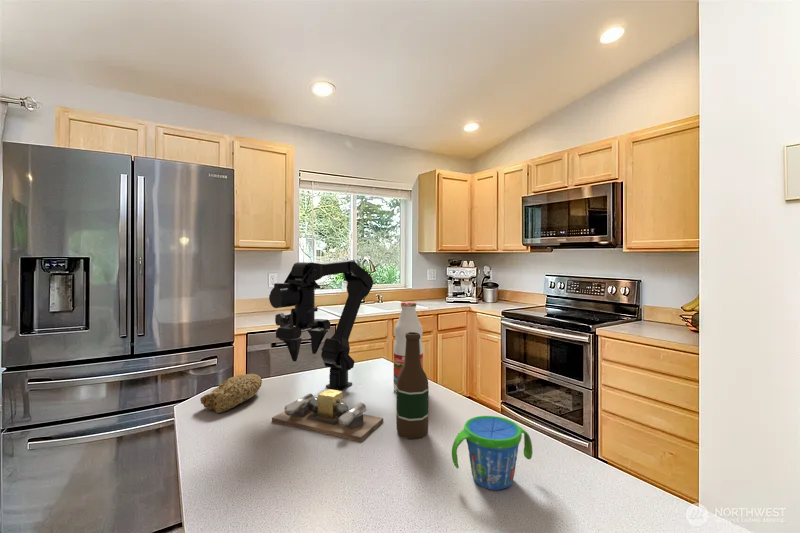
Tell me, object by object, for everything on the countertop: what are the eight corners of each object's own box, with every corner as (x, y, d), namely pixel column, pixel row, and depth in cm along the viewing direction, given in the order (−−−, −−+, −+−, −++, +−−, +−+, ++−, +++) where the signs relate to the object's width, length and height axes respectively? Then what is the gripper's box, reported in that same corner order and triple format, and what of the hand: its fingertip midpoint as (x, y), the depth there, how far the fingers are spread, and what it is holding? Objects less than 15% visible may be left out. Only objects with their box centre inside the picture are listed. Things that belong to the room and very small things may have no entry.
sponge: (227, 421, 100) (279, 383, 117) (218, 394, 99) (272, 360, 116) (195, 420, 105) (249, 385, 123) (186, 395, 104) (242, 362, 122)
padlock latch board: (300, 405, 107) (300, 393, 107) (383, 421, 96) (383, 408, 96) (271, 421, 96) (271, 408, 96) (360, 441, 86) (361, 426, 86)
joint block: (343, 414, 99) (343, 391, 98) (333, 421, 94) (333, 397, 94) (327, 411, 101) (327, 388, 101) (317, 417, 97) (317, 394, 96)
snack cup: (458, 500, 65) (459, 442, 65) (445, 466, 76) (445, 416, 76) (545, 495, 67) (545, 438, 67) (520, 463, 77) (520, 413, 77)
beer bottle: (426, 441, 86) (426, 337, 85) (392, 438, 88) (393, 335, 87) (430, 426, 94) (430, 330, 93) (399, 424, 95) (400, 329, 95)
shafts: (306, 404, 103) (306, 391, 103) (366, 415, 96) (366, 401, 96) (284, 416, 95) (284, 402, 95) (347, 430, 88) (347, 414, 88)
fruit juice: (425, 386, 123) (426, 301, 123) (419, 396, 114) (419, 304, 114) (398, 383, 126) (398, 300, 125) (389, 393, 117) (389, 303, 116)
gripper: (302, 300, 123) (302, 347, 123) (260, 306, 106) (260, 362, 106) (331, 302, 118) (331, 351, 119) (292, 309, 101) (292, 366, 102)
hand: (304, 357), depth 111 cm, fingers open, 9 cm apart
